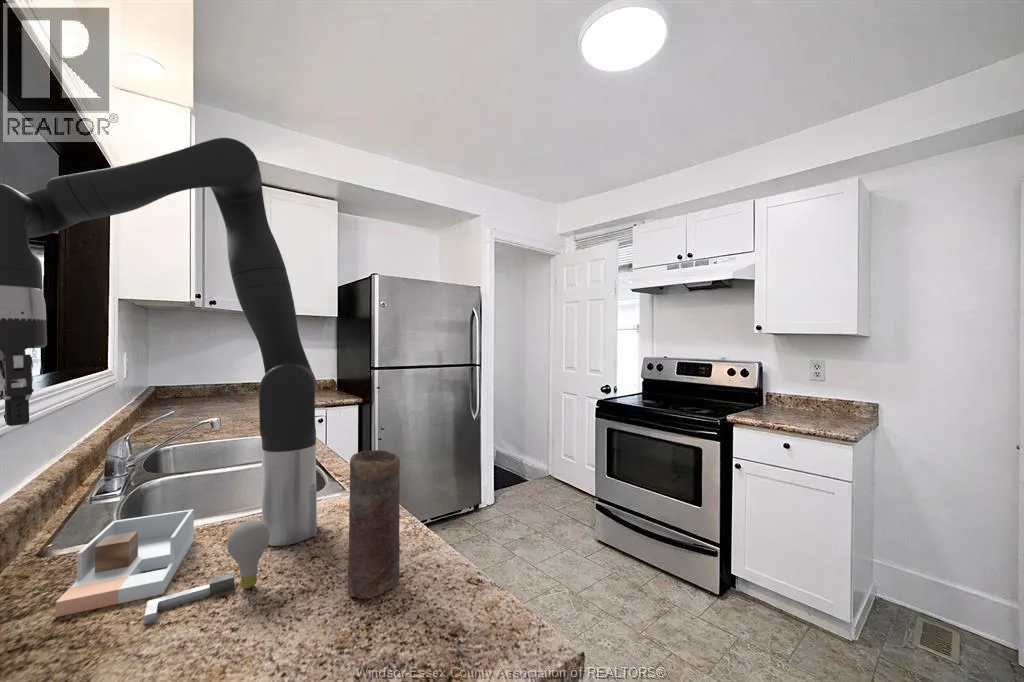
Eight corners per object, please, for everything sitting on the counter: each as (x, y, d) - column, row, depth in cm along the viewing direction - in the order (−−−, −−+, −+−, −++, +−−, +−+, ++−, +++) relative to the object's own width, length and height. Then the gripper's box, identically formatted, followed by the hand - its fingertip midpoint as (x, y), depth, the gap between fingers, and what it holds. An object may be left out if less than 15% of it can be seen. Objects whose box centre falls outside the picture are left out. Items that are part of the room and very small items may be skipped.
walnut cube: (137, 555, 69) (137, 531, 69) (128, 566, 66) (128, 541, 66) (105, 561, 68) (106, 536, 68) (94, 573, 64) (94, 546, 64)
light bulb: (278, 581, 65) (277, 516, 65) (245, 601, 60) (245, 531, 60) (252, 575, 67) (251, 512, 67) (218, 594, 61) (218, 526, 62)
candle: (386, 569, 68) (385, 446, 68) (410, 587, 63) (409, 454, 63) (339, 589, 63) (338, 455, 63) (361, 610, 57) (360, 464, 58)
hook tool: (233, 583, 64) (233, 572, 64) (235, 597, 61) (235, 584, 61) (147, 608, 58) (147, 595, 58) (144, 625, 55) (144, 611, 55)
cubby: (193, 541, 79) (193, 509, 79) (162, 594, 62) (162, 553, 62) (113, 555, 74) (113, 520, 74) (55, 617, 57) (55, 572, 57)
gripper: (55, 315, 63) (58, 422, 63) (37, 321, 71) (40, 415, 71) (-26, 313, 57) (-21, 432, 57) (-35, 320, 65) (-31, 423, 65)
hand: (13, 422), depth 64 cm, fingers open, 8 cm apart
